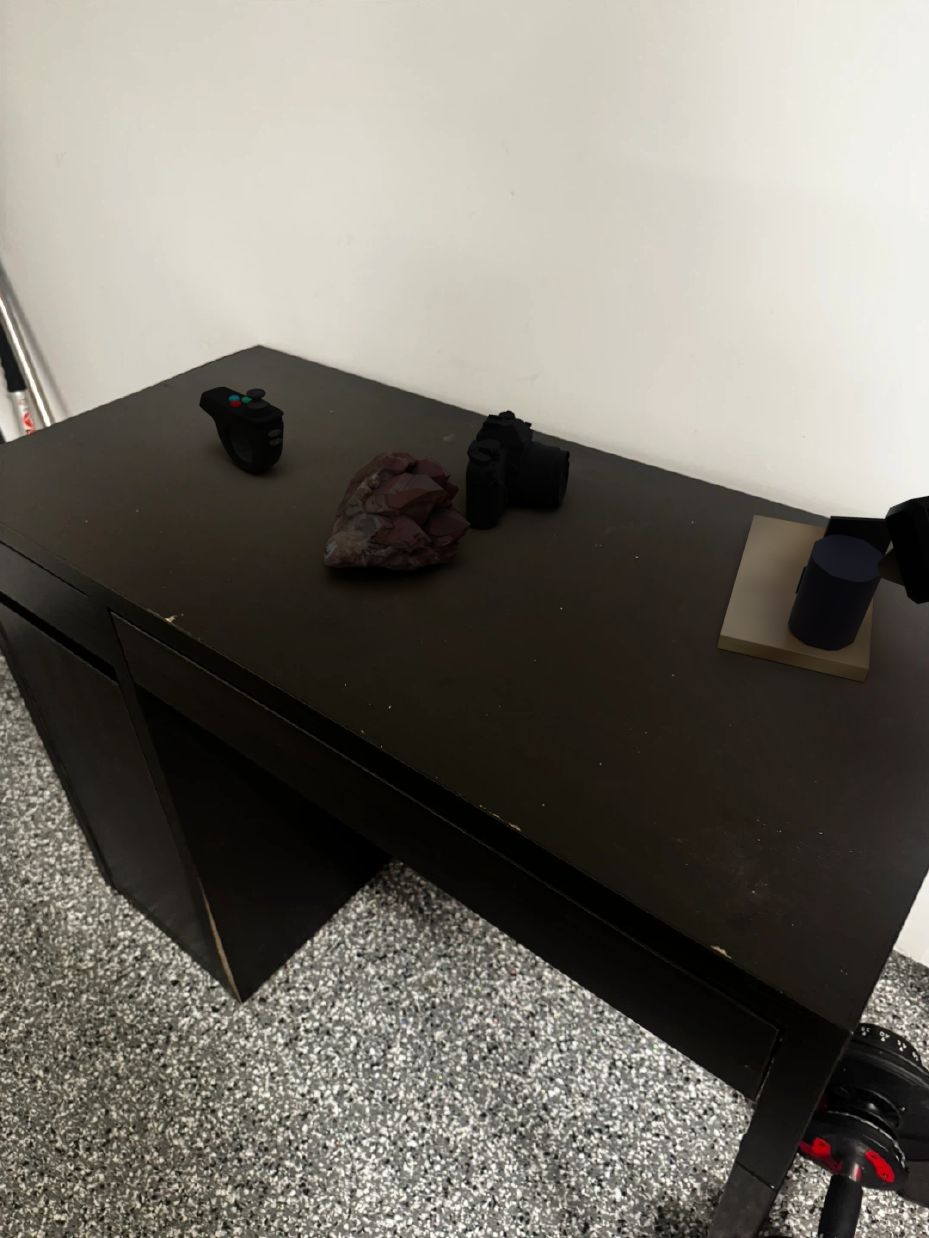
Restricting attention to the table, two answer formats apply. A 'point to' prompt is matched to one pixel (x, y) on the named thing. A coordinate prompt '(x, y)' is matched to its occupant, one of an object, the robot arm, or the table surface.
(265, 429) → the controller
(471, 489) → the film camera
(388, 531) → the mineral specimen
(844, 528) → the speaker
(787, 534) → the birch board
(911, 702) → the table surface
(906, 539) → the robot arm
